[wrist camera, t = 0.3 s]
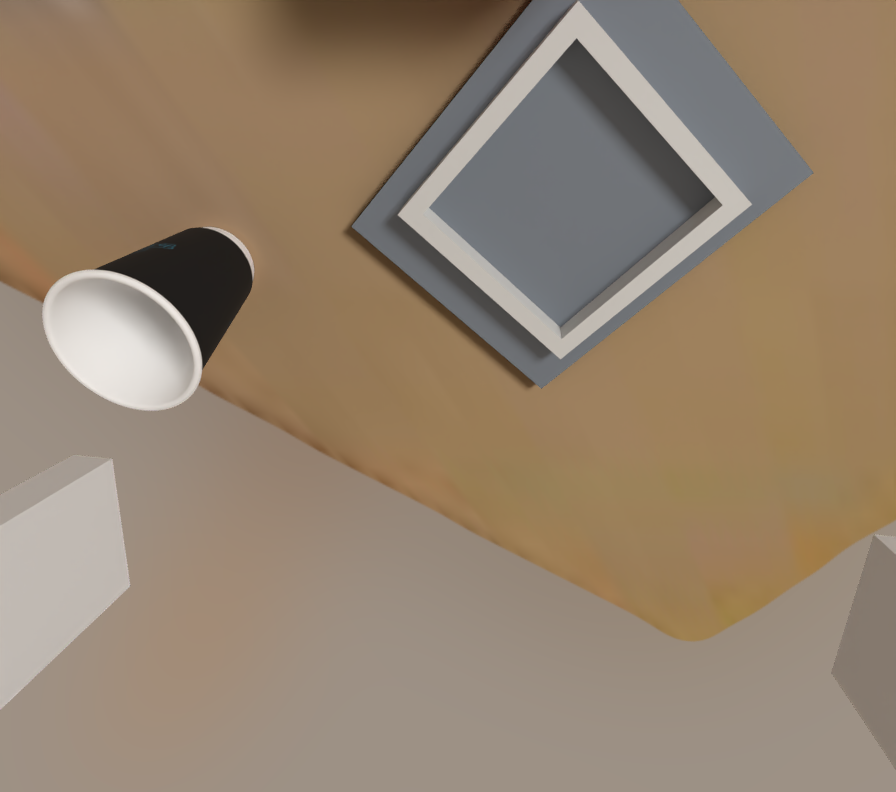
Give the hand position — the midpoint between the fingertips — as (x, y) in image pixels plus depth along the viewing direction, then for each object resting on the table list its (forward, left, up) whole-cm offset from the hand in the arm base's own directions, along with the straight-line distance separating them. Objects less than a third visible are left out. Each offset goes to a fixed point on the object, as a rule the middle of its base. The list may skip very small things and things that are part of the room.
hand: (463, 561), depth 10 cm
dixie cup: (+17, -10, -27) cm, 34 cm away
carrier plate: (-1, +3, -27) cm, 28 cm away
